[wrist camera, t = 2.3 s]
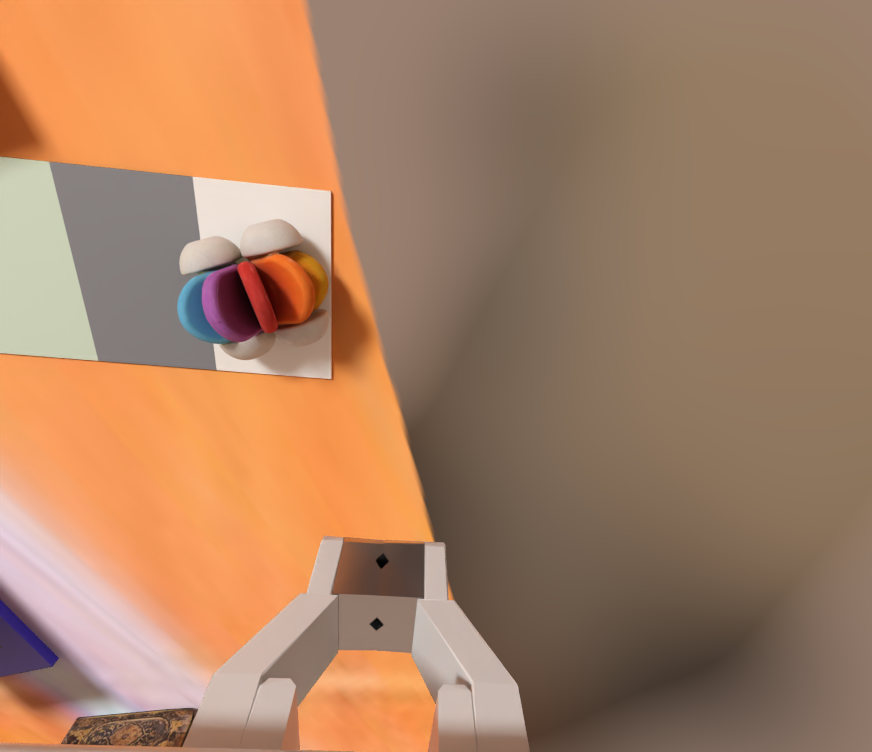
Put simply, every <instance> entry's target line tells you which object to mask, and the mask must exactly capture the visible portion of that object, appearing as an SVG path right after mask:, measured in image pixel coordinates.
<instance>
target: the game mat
mask: <svg viewBox="0 0 872 752" xmlns="http://www.w3.org/2000/svg"><path fill="white" fill-rule="evenodd" d="M273 219H281V220H284V221H286V222H288V223H289V224H291V225H292V226H293V227H295V228H296V230H297V231H298V232H299V233H300V235H301V237H302V238H303V242H302V243H301V244H298V245H295V246H293V247H290V248H286V249H284V250H282V251H280V252H279V253H285V252H288V251H292V250H299V251H301V252H304V253H306V254H308V255H310V256H312V257H313V258H314V259H316V260H317V261H318V262H319V263H320V264H321V265H322V267H323V268H324V270H325V272H326V274H327V276H328V281H329V286H328V292H327V295H326V297H325V299H324V301H323V302H322V304H321V305H320V306H319V308H318V309H325V310H327V312H328V315H329V323H328V327H327V330H326V332H325V334H324V335H323V337H322V338H321V339H319V340H318V341H316V342H314V343H312V344H310V345H306V346H301V347H295V346H291V345H288V344H286V343H284V342H282V341H281V340H280V339H278V337H277V336H276V340H275V343H274V345H273V347H272V348H271V350H270V351H269V352H267V353H266V354H264V355H262V356H260V357H258V358H255V359H251V360H239V359H236V358H233V357H231V356H229V355H228V354H226V353H225V352H224V351H223V350H222V349H221V348H220V346H219V344H213V343H208V342H205V341H202V340H199V339H197V338H196V337H194V336H193V335H191V334H190V333H189V332H187V331H186V330H185V328H184V327H183V326H182V324H181V322H180V320H179V316H178V312H177V304H178V298H179V295H180V293H181V291H182V289H183V287H184V286H185V285H186V283H187V282H188V281H189V280H191V279H192V278H193V277H195V276H198V275H199V274H198V273H193V274H190V275H182V274H181V271H180V265H179V261H180V255H181V252H182V250H183V249H184V247H185V246H186V245H187V244H188V243H191V242H194V241H198V240H201V239H205V238H208V237H212V236H220V237H223V238H226V239H228V240H230V241H231V242H232V243H234V244H235V245H236V246H237V247H238V248H239V249H240V243H241V238H242V235H243V233H244V231H245V230H246V228H247V227H248V226H249V225H253V224H257V223H261V222H265V221H269V220H273ZM244 261H248V262H250V261H249V260H247V259H246V258H244V257H243V258H240V259H238V260H236V261H235V262H236V263H238V264H240V263H241V262H244ZM0 353H6V354H19V355H31V356H44V357H57V358H70V359H82V360H95V361H108V362H120V363H133V364H146V365H158V366H171V367H184V368H196V369H209V370H222V371H235V372H247V373H260V374H273V375H285V376H298V377H311V378H323V379H332V302H331V191H324V190H315V189H305V188H296V187H286V186H277V185H267V184H257V183H248V182H238V181H229V180H219V179H210V178H200V177H191V176H181V175H172V174H162V173H152V172H143V171H133V170H124V169H114V168H105V167H95V166H86V165H76V164H67V163H57V162H47V161H38V160H28V159H19V158H9V157H0Z"/></svg>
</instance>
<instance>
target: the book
mask: <svg viewBox="0 0 872 752" xmlns="http://www.w3.org/2000/svg"><path fill="white" fill-rule="evenodd" d="M193 718H194V712H193V711H192V709H169V710H157V711H146V712H136V713H125V714H114V715H103V716H92V717H81V718H77V719H76V721H75V722H74V724H73V726H72V727H71V729H70V730H69V732H68V733H67V735H66V737H65V738H64V740H63V741H62V743H61V744H72V745H112V746H152V747H183V744H184V742H185V740H186V737H187V735H188V733H189V730H190V728H191V726H192V721H193Z"/></svg>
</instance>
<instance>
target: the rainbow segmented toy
mask: <svg viewBox="0 0 872 752" xmlns="http://www.w3.org/2000/svg"><path fill="white" fill-rule="evenodd" d="M302 242H303V238H302V237H301V235H300V233H299V232H298V231H297V230H296V228H295V227H293V226H292V225H291V224H289V223H288V222H286V221H284V220H281V219H273V220H269V221H265V222H261V223H257V224H253V225H249V226H248V227H247V228H246V230H245V231H244V233H243V235H242V238H241V243H240V249H239V248H238V247H237V246H236V245H235V244H234V243H232V242H231V241H230V240H228V239H226V238H223V237H220V236H212V237H208V238H205V239H201V240H198V241H194V242H191V243H188V244H187V245H186V246H185V247H184V249H183V250H182V252H181V255H180V261H179V265H180V271H181V274H182V275H190V274H193V273H198V274H199V275H198V276H195V277H193V278H192V279H191V280H189V281H188V282H187V283H186V285H185V286H184V287H183V289H182V291H181V293H180V295H179V298H178V304H177V312H178V316H179V320H180V322H181V324H182V326H183V327H184V328H185V330H186V331H187V332H189V333H190V334H191V335H193V336H194V337H196V338H197V339H199V340H202V341H205V342H208V343H213V344H219V346H220V348H221V349H222V350H223V351H224V352H225V353H226V354H228V355H229V356H231V357H233V358H236V359H239V360H251V359H255V358H258V357H260V356H262V355H264V354H266V353H267V352H269V351H270V350H271V348H272V347H273V345H274V343H275V340H276V336H277V337H278V339H280V340H281V341H282V342H284V343H286V344H288V345H291V346H295V347H301V346H306V345H310V344H312V343H314V342H316V341H318V340H319V339H321V338H322V337H323V335H324V334H325V332H326V330H327V327H328V323H329V315H328V312H327V310H325V309H318V308H319V306H320V305H321V304H322V302H323V301H324V299H325V297H326V295H327V292H328V286H329V281H328V276H327V274H326V272H325V270H324V268H323V267H322V265H321V264H320V263H319V262H318V261H317V260H316V259H314V258H313V257H312V256H310V255H308V254H306V253H304V252H301V251H299V250H292V251H288V252H285V253H279V252H280V251H282V250H284V249H286V248H290V247H293V246H295V245H298V244H301V243H302ZM243 257H244V258H246V259H247V260H249V261H250V262H248V261H244V262H241V263H240V264H238V263H236V262H235V261H236V260H238V259H240V258H243Z"/></svg>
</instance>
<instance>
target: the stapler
mask: <svg viewBox="0 0 872 752" xmlns="http://www.w3.org/2000/svg"><path fill="white" fill-rule="evenodd" d="M57 660H58V657H57V656H56V655H55V654H54V653H53V652H52V651H51V650H50V649H49V648H48V647H47V646H46V645H45V644H44V643H43V642H42V641H41V640H40V639H39V638H38V637H37V636H36V635H35V634H34V633H33V632H32V631H31V630H30V629H29V628H28V627H27V626H26V625H25V624H24V623H23V622H22V621H21V620H20V619H19V618H18V617H17V616H16V615H15V614H14V613H13V612H12V611H11V610H10V609H9V608H8V607H7V606H6V605H5V604H4V603H3V602H2V601H1V600H0V677H2V676H7V675H13V674H18V673H23V672H28V671H33V670H38V669H43V668H48V667H52V666H53V665H54V664H55V662H56V661H57Z"/></svg>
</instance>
